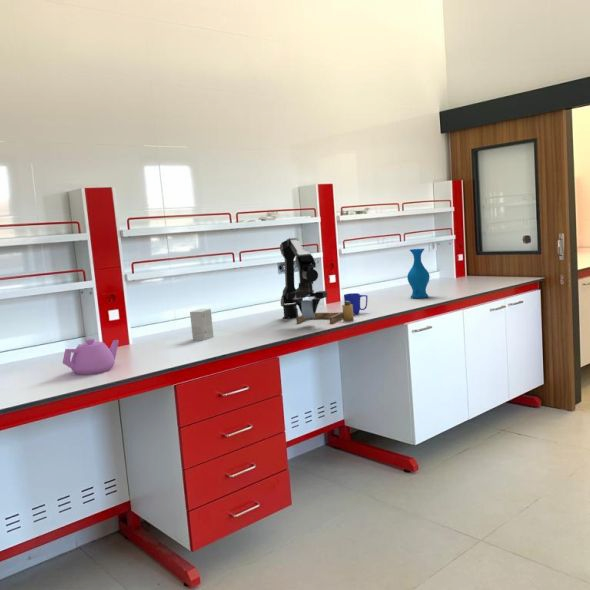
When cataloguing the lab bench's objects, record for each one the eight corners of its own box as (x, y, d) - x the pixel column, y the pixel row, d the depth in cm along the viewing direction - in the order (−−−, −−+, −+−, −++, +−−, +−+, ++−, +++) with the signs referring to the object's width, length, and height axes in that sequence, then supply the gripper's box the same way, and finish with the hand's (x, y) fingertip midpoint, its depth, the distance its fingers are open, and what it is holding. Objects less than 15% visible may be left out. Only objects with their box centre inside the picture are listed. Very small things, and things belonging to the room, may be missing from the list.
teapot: (74, 380, 215) (70, 346, 214) (56, 374, 226) (52, 342, 225) (130, 366, 230) (127, 335, 229) (111, 361, 241) (107, 332, 240)
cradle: (296, 323, 297) (296, 317, 296) (308, 318, 309) (308, 312, 309) (332, 323, 288) (332, 317, 288) (343, 318, 301) (343, 312, 301)
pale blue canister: (300, 318, 286) (298, 301, 285) (307, 315, 293) (306, 298, 292) (311, 318, 283) (310, 301, 282) (319, 315, 291) (318, 298, 290)
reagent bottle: (341, 321, 293) (340, 302, 292) (345, 319, 298) (344, 300, 297) (351, 321, 291) (350, 302, 290) (355, 319, 296) (353, 300, 294)
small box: (202, 336, 282) (199, 308, 280) (213, 336, 279) (211, 308, 278) (192, 340, 274) (189, 311, 273) (204, 340, 272) (201, 311, 270)
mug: (367, 314, 308) (366, 294, 307) (344, 315, 311) (342, 295, 310) (369, 311, 316) (367, 292, 315) (346, 312, 319) (344, 293, 318)
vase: (426, 299, 345) (423, 249, 342) (405, 299, 352) (402, 250, 348) (433, 296, 355) (431, 248, 352) (412, 296, 362) (410, 248, 358)
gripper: (280, 282, 282) (282, 316, 284) (317, 281, 273) (319, 316, 275) (290, 279, 292) (293, 312, 293) (326, 278, 283) (329, 311, 285)
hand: (308, 313), depth 287 cm, fingers closed on pale blue canister, 6 cm apart
